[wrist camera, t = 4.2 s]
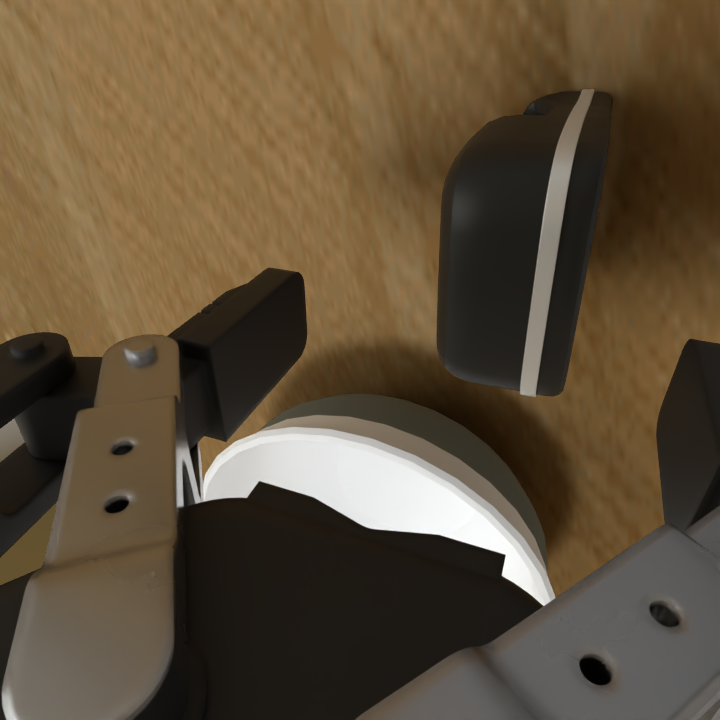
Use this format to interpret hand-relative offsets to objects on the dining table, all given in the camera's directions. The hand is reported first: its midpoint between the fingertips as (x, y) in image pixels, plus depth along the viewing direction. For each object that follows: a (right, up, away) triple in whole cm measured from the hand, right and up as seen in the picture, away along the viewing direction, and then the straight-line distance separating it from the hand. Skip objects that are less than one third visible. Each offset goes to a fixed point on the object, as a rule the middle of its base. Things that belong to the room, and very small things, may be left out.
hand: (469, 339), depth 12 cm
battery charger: (+5, +7, +11) cm, 14 cm away
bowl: (+1, -7, +22) cm, 23 cm away
